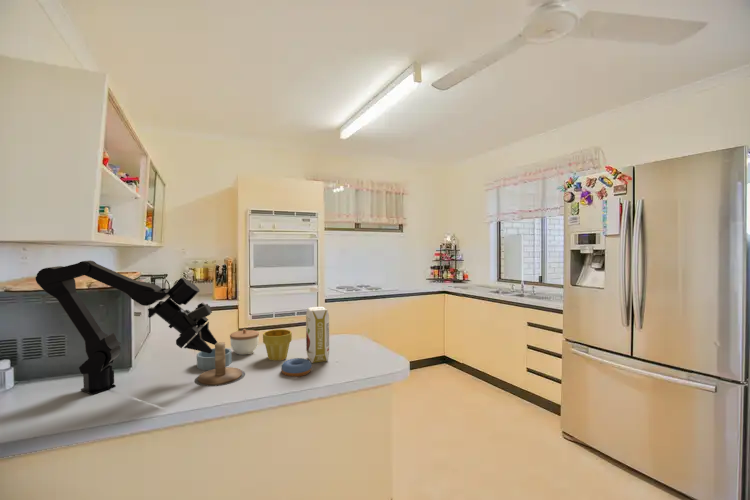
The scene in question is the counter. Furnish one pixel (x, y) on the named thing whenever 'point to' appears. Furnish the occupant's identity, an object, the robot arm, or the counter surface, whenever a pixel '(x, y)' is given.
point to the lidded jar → (244, 341)
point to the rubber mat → (219, 384)
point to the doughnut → (296, 367)
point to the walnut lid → (219, 369)
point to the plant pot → (277, 343)
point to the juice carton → (317, 334)
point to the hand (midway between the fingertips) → (214, 347)
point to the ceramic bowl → (212, 359)
